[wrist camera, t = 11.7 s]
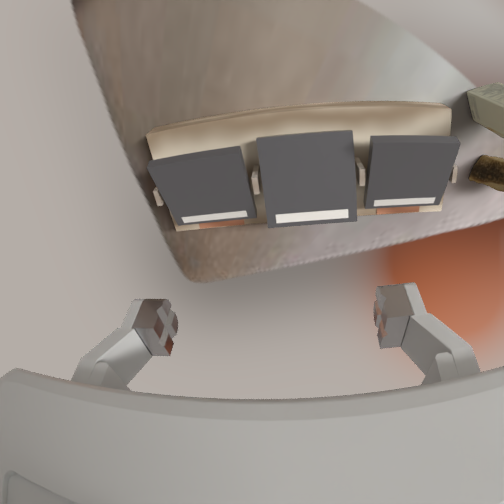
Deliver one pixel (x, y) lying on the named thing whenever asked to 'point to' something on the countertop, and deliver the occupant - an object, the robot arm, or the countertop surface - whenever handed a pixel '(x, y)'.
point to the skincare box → (488, 107)
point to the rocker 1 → (205, 186)
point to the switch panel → (301, 121)
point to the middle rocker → (308, 178)
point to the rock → (489, 172)
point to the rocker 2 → (408, 170)
